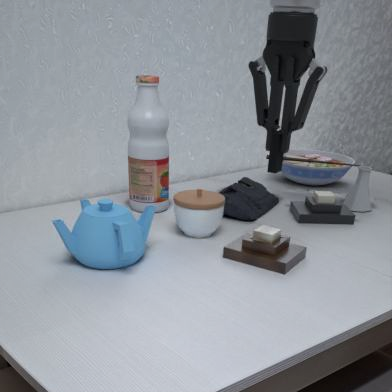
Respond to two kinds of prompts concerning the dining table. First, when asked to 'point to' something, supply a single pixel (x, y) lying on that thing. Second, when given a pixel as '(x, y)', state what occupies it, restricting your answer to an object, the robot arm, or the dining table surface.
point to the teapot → (106, 234)
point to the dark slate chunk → (247, 200)
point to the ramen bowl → (315, 166)
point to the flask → (360, 192)
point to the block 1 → (265, 253)
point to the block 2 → (321, 212)
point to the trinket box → (198, 211)
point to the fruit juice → (148, 148)
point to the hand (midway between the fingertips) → (274, 171)
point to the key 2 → (324, 197)
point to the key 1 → (267, 234)
